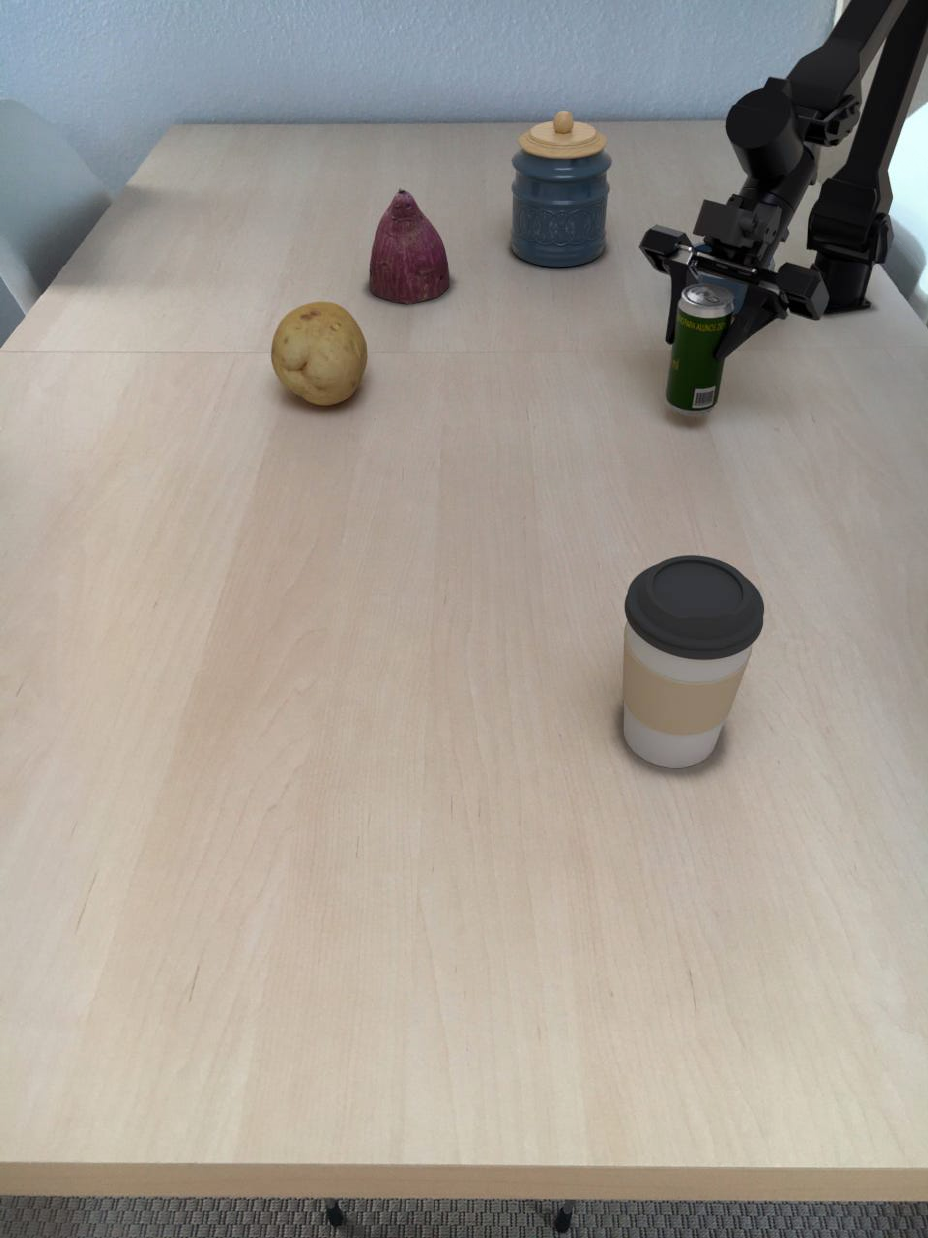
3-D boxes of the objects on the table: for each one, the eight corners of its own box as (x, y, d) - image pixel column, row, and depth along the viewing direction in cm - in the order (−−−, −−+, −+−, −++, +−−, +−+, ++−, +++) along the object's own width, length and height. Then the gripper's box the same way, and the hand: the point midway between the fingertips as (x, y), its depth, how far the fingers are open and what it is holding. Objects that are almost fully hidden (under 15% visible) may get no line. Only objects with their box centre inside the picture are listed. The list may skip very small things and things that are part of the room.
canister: (496, 261, 134) (497, 121, 122) (528, 224, 143) (532, 91, 131) (589, 275, 130) (599, 133, 118) (616, 237, 139) (628, 100, 127)
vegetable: (438, 327, 128) (443, 228, 115) (360, 311, 128) (356, 211, 115) (456, 273, 133) (463, 173, 120) (382, 258, 134) (380, 157, 121)
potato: (374, 362, 115) (366, 279, 108) (366, 421, 106) (358, 335, 99) (286, 364, 115) (273, 281, 108) (271, 423, 106) (256, 337, 99)
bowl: (741, 273, 130) (748, 235, 127) (783, 310, 122) (791, 271, 119) (662, 284, 128) (667, 246, 125) (699, 323, 120) (705, 284, 117)
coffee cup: (599, 692, 77) (615, 542, 67) (713, 683, 78) (747, 533, 67) (622, 785, 71) (644, 636, 60) (746, 775, 71) (790, 625, 61)
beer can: (727, 408, 103) (747, 299, 94) (684, 422, 101) (700, 312, 93) (696, 384, 106) (713, 277, 98) (654, 397, 105) (668, 289, 96)
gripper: (659, 139, 94) (584, 292, 96) (845, 183, 85) (759, 351, 87) (691, 197, 104) (623, 334, 105) (861, 242, 95) (784, 392, 96)
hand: (692, 351), depth 98 cm, fingers closed on beer can, 5 cm apart
